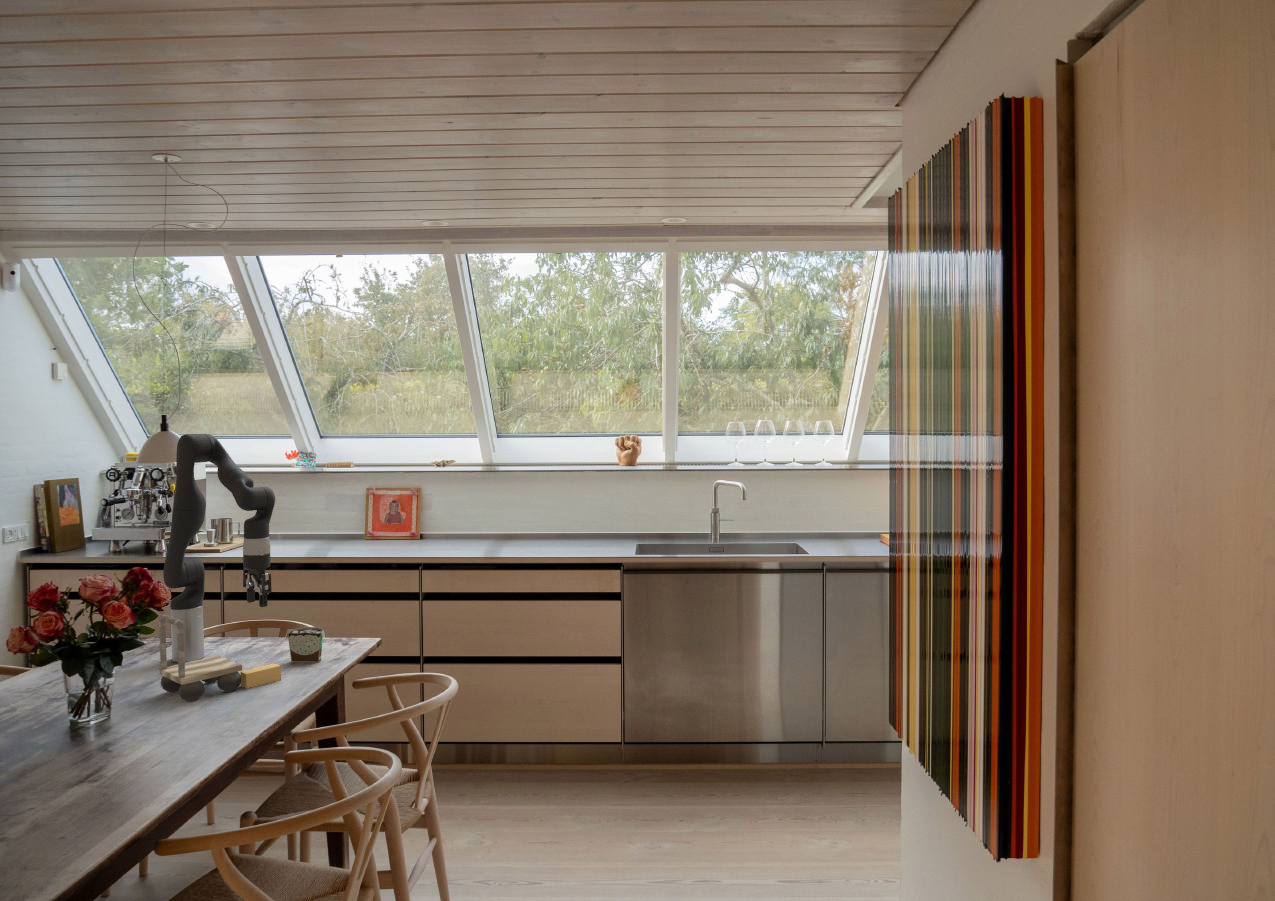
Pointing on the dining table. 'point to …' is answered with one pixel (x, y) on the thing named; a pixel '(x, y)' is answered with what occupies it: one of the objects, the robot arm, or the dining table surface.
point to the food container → (305, 644)
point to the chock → (260, 675)
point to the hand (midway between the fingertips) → (257, 604)
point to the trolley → (194, 668)
